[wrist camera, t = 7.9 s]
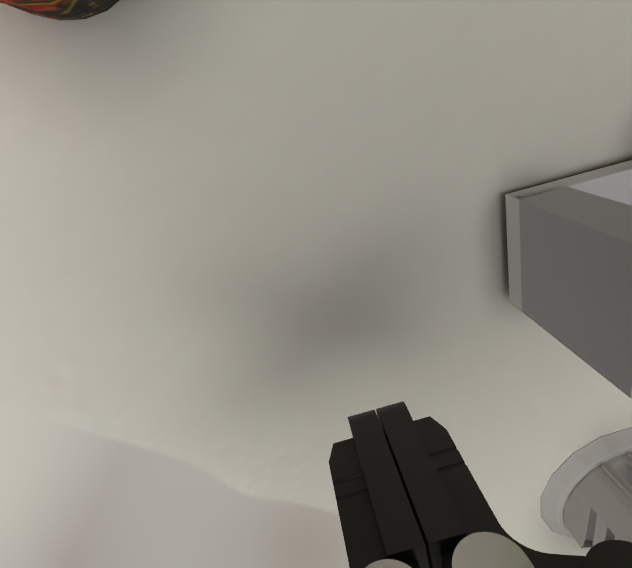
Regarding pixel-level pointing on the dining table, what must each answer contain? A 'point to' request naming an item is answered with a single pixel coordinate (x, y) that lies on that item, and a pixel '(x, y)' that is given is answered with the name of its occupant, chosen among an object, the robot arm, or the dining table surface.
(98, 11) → the deodorant
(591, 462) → the french press
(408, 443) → the robot arm
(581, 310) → the sled
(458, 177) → the dining table surface
